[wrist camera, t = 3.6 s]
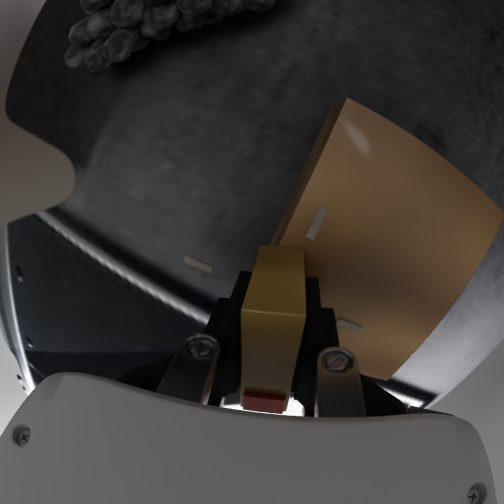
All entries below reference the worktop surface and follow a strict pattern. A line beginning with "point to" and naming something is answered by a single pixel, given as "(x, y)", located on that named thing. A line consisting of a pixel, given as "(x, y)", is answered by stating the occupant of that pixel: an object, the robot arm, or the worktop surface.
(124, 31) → the fruit
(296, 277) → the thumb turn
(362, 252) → the brown flat block
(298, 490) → the robot arm
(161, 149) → the worktop surface
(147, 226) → the worktop surface
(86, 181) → the worktop surface
